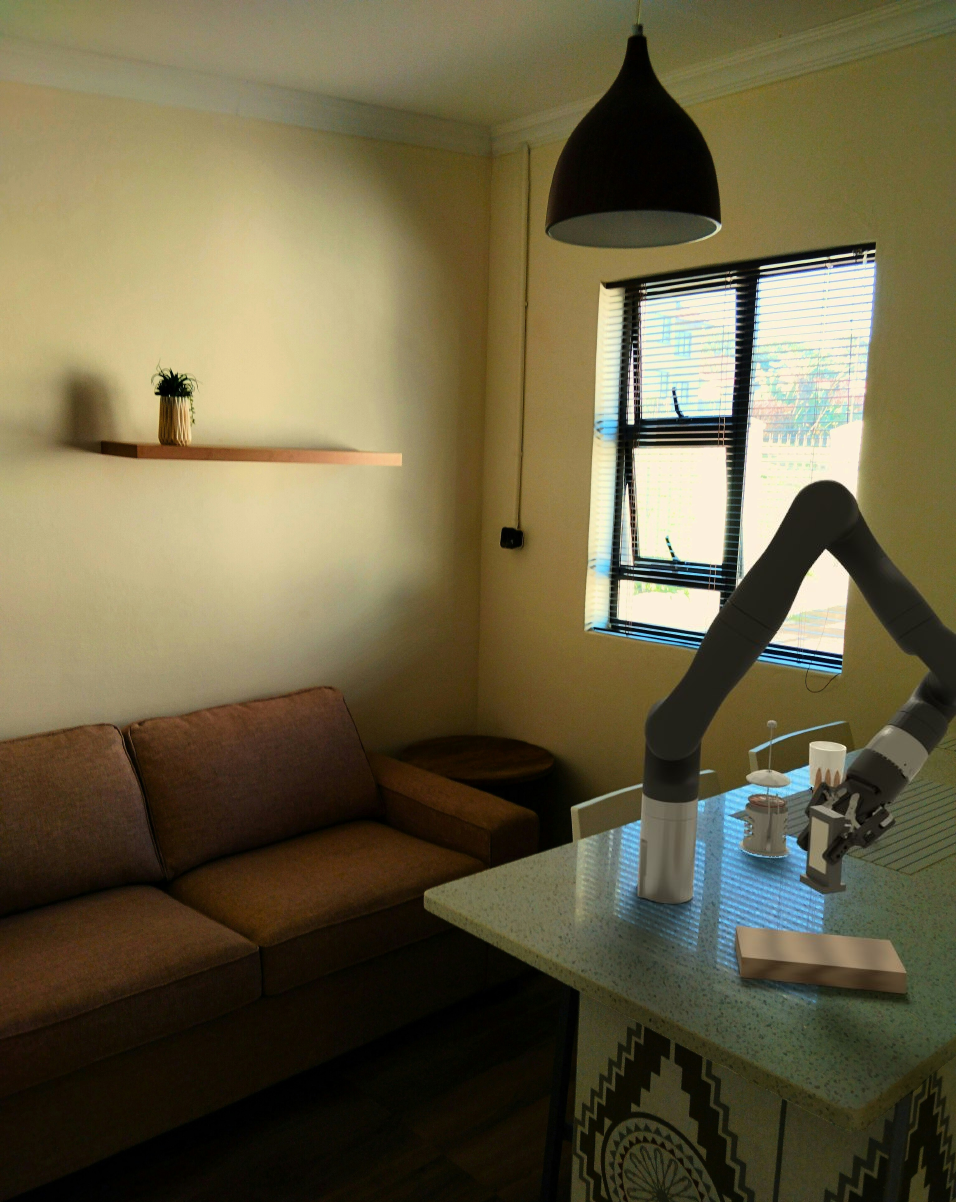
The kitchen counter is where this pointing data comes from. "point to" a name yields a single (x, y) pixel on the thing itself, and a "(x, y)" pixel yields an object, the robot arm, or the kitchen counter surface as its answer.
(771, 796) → the french press
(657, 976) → the kitchen counter surface
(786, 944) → the wooden block
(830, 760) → the white cup
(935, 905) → the kitchen counter surface
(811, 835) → the picture frame
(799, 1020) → the kitchen counter surface
